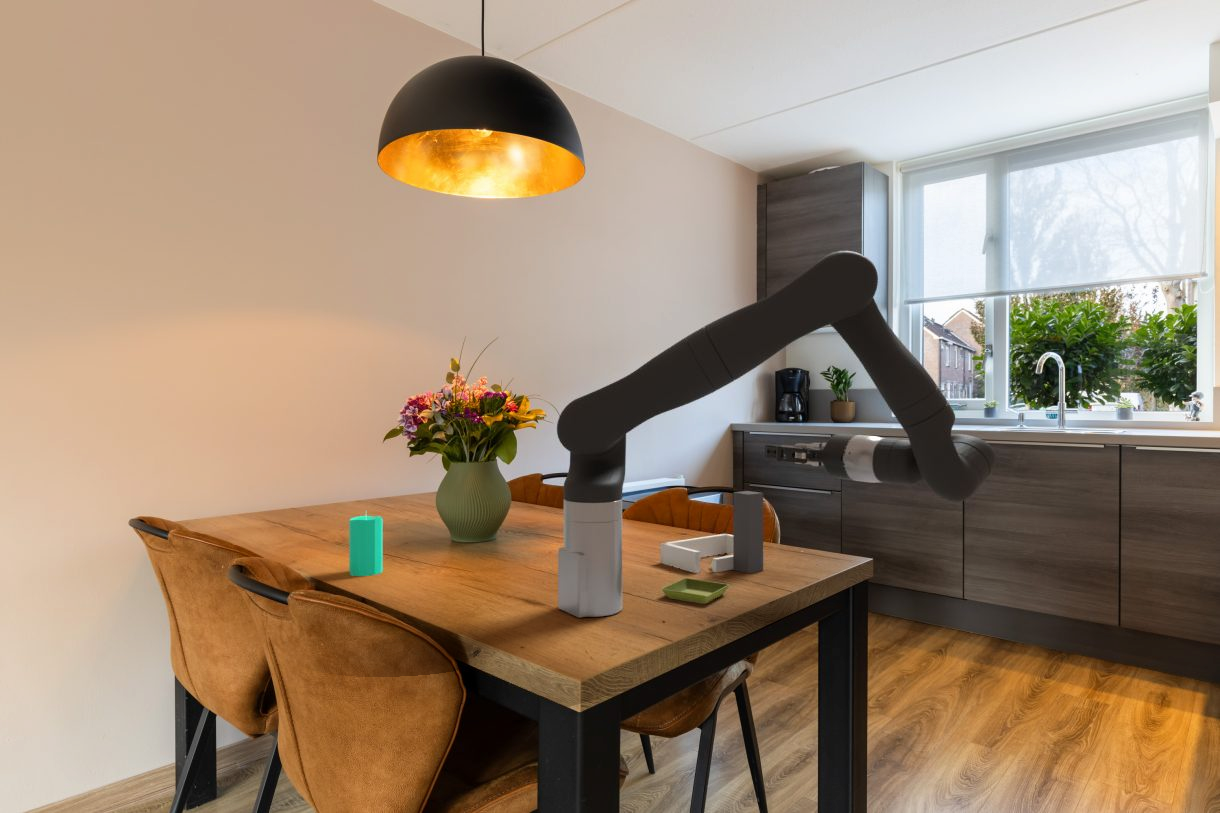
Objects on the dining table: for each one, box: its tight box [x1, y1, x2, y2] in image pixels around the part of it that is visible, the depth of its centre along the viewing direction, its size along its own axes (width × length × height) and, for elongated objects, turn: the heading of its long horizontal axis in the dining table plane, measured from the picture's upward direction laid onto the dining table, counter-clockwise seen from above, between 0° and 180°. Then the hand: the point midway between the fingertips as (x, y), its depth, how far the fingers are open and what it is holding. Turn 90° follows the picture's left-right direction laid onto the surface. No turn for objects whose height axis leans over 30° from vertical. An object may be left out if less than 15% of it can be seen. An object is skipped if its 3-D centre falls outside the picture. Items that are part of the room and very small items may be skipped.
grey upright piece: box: [712, 490, 765, 574], centre depth 134 cm, size 13×5×15 cm, turn 124°
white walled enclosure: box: [660, 533, 733, 574], centre depth 141 cm, size 18×10×4 cm, turn 125°
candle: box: [348, 511, 384, 577], centre depth 132 cm, size 6×6×12 cm
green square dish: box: [660, 577, 730, 605], centre depth 115 cm, size 9×9×2 cm
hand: (782, 450), depth 126 cm, fingers open, 8 cm apart
